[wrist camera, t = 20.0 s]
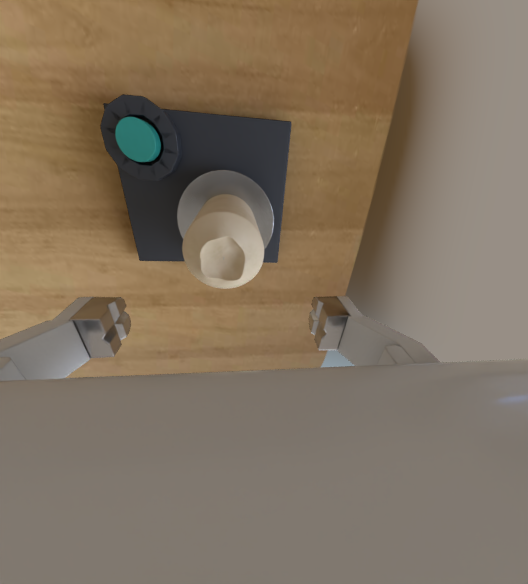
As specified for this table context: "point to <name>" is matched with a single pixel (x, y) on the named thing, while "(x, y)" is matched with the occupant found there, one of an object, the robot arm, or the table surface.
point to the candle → (224, 243)
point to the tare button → (137, 139)
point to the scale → (193, 167)
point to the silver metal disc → (225, 184)
